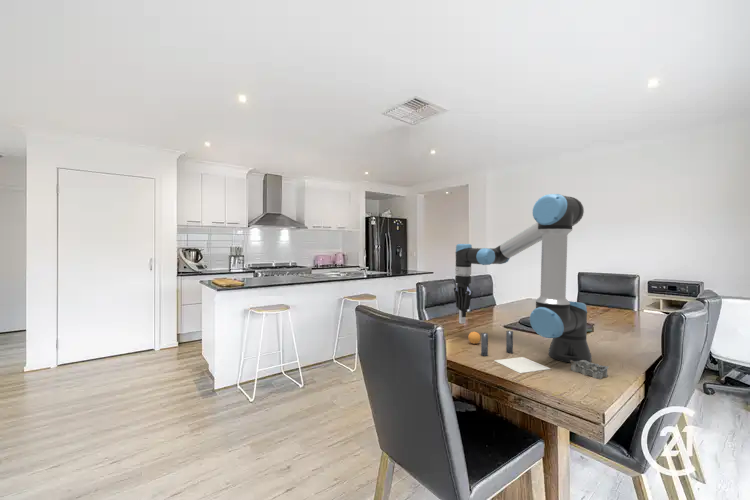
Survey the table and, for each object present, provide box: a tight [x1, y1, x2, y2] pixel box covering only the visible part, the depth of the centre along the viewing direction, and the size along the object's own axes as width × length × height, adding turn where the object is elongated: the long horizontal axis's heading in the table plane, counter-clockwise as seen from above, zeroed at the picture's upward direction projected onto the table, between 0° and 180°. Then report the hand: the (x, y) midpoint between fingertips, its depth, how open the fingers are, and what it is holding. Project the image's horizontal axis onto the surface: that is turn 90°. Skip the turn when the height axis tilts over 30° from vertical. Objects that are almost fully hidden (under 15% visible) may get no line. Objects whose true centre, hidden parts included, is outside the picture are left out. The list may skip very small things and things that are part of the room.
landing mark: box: [493, 356, 552, 374], centre depth 129 cm, size 14×14×1 cm
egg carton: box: [570, 360, 610, 380], centre depth 121 cm, size 11×8×4 cm
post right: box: [505, 330, 514, 354], centre depth 144 cm, size 3×3×9 cm
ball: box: [467, 331, 481, 345], centre depth 157 cm, size 6×6×6 cm
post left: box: [480, 332, 489, 357], centre depth 140 cm, size 3×3×9 cm
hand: (462, 323), depth 166 cm, fingers closed
